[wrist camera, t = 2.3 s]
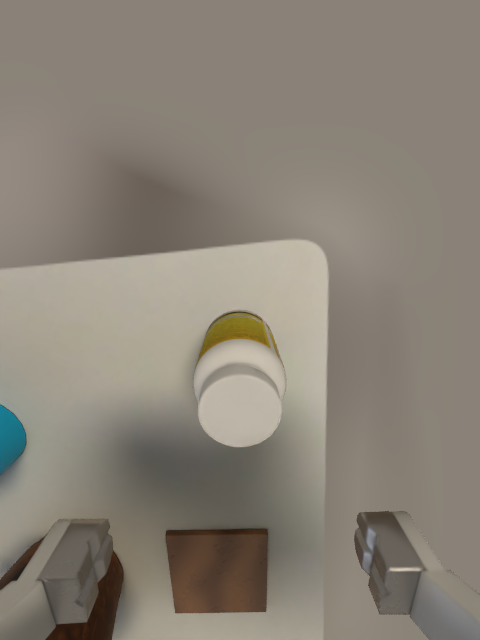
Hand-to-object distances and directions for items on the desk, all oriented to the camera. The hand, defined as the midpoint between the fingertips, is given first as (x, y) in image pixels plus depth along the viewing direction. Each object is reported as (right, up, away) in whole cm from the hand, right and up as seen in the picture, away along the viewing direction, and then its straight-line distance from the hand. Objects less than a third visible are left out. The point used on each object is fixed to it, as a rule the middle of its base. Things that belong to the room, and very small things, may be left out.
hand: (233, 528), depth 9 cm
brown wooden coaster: (-2, -25, +25) cm, 36 cm away
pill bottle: (0, +5, +17) cm, 17 cm away
